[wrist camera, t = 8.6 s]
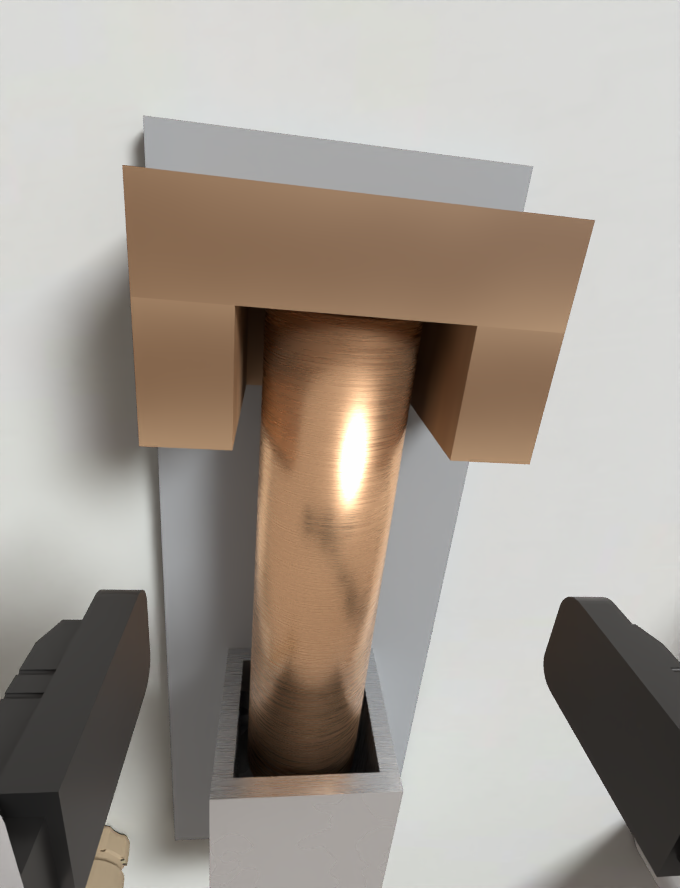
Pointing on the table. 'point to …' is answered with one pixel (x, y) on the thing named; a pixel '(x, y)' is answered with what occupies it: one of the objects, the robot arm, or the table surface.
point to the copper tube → (322, 528)
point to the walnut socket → (344, 300)
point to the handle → (109, 861)
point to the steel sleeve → (301, 803)
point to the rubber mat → (236, 472)
